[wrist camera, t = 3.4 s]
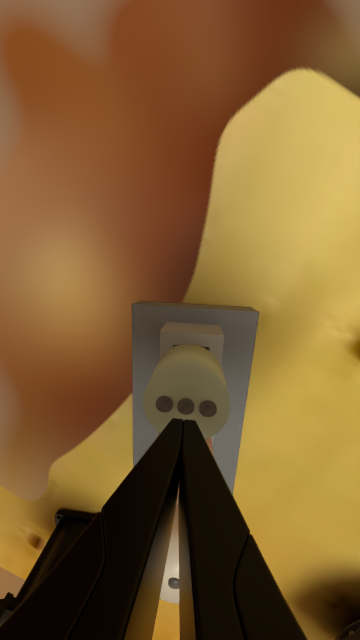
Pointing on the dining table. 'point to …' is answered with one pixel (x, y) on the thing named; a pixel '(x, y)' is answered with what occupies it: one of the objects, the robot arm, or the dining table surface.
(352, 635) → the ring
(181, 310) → the grey button panel
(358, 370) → the dining table surface
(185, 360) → the sage key
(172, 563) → the cream key
